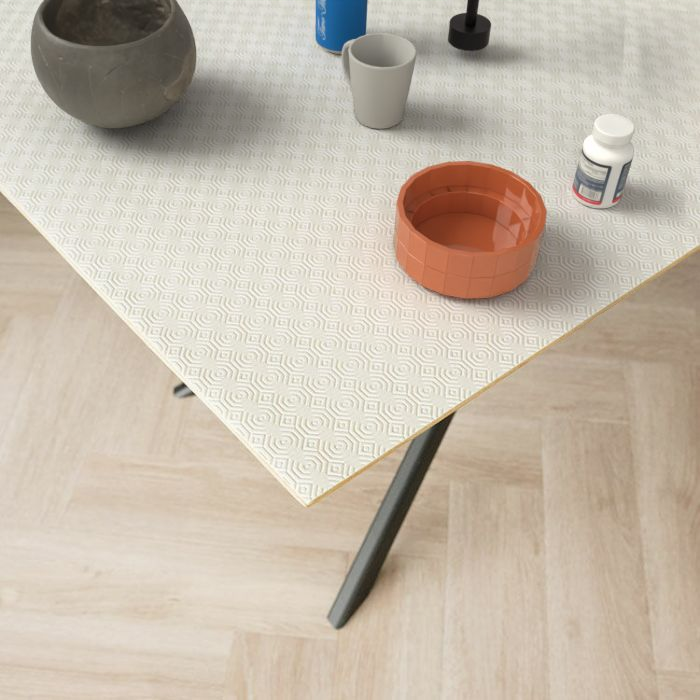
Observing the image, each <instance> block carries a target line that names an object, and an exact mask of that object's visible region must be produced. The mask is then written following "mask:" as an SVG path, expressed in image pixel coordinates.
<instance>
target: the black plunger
mask: <svg viewBox="0 0 700 700" xmlns="http://www.w3.org/2000/svg"><path fill="white" fill-rule="evenodd" d="M479 4H480V0H467V3H466V11H465V12H461V13H457V14H455V15H452V17H451V18H450V20H449V26H448V34H447V42H448V43H449V45H450V46H451V47H453V48H455V49H457V50H460V51H464V52H476V51H481V50H483V49H485V48H487V47H488V45H489V43H490V37H491V29H492V22H491V20H490V19H489V18H488V17H486V16H485V15H482V14H479Z"/></svg>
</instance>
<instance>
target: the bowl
mask: <svg viewBox="0 0 700 700" xmlns="http://www.w3.org/2000/svg"><path fill="white" fill-rule="evenodd" d="M197 55H198V54H197V44H196V39H195V35H194V31H193V28H192V26H191V24H190V21H189V19H188V16H186V13H185V11H184V10H183V8H182V7H181V5H180V4H179V2H178V1H177V0H42V1H41V3H40V4H39V6H38V8H37V10H36V13H35V14H34V17H33V21H32V26H31V32H30V56H31V63H32V66H33V70H34V72H35V75H36V78H37V81H38V82H39V83H40V86H41V87H42V89H43V91H44V92H45V94H46V95H47V97H49V99H50V100H51V101H52V102H53V104H55V105H56V106H57V107H58V108H59V109H60V110H61V111H63V112H64V113H66V114H67V115H69V116H71V117H72V118H74V119H76V120H78V121H80V122H83V123H84V124H87V125H91V126H94V127H99V128H103V129H104V128H105V129H126V128H130V127H135V126H138V125H141V124H142V125H143V124H145V123H147V122H150V121H152V120H154V119H157V118H158V117H160V116H162V115H163V114H164V113H166V112H167V111H168V110H170V109H171V108H172V107H173V106H174V105H175V104H176V103H178V101H180V99H181V98H182V97H183V96H184V94H185V93H186V92H187V91H188V88H189V87H190V85H191V83H192V81H193V78H194V74H195V71H196V66H197V57H198V56H197Z"/></svg>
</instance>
